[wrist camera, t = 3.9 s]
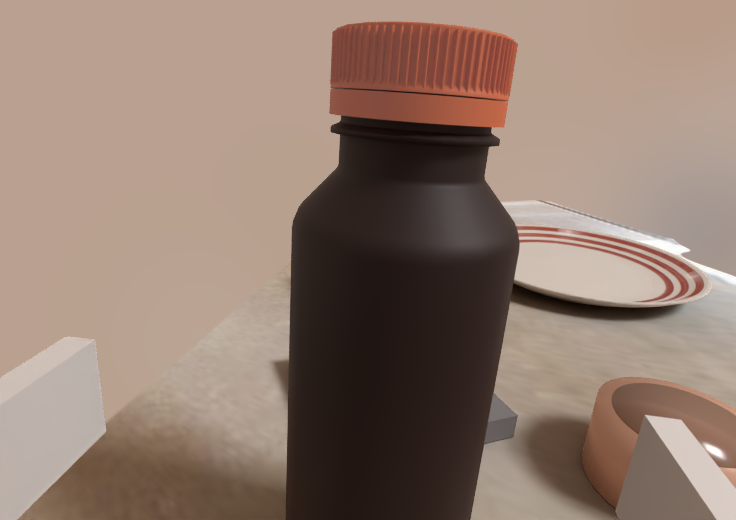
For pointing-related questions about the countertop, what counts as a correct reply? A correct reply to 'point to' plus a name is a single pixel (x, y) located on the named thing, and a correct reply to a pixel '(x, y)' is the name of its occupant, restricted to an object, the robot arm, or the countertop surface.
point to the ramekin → (624, 419)
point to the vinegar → (400, 279)
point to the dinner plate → (603, 269)
